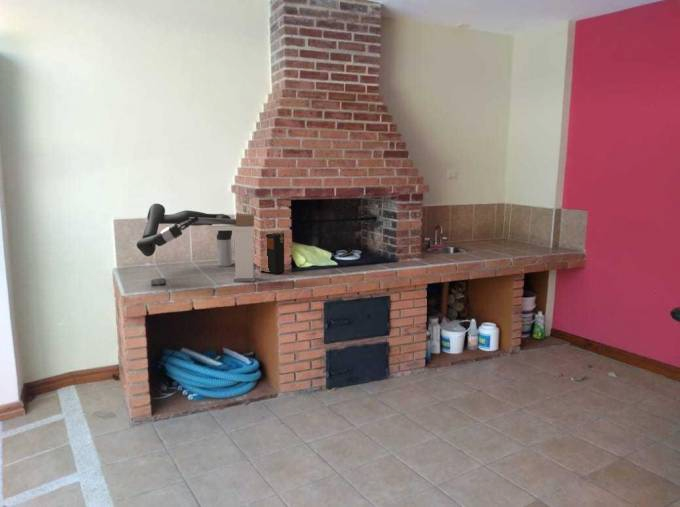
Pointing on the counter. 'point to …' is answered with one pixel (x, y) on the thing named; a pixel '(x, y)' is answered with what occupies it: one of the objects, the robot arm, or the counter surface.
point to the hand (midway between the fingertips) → (198, 217)
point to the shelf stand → (241, 250)
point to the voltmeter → (275, 252)
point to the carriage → (229, 220)
